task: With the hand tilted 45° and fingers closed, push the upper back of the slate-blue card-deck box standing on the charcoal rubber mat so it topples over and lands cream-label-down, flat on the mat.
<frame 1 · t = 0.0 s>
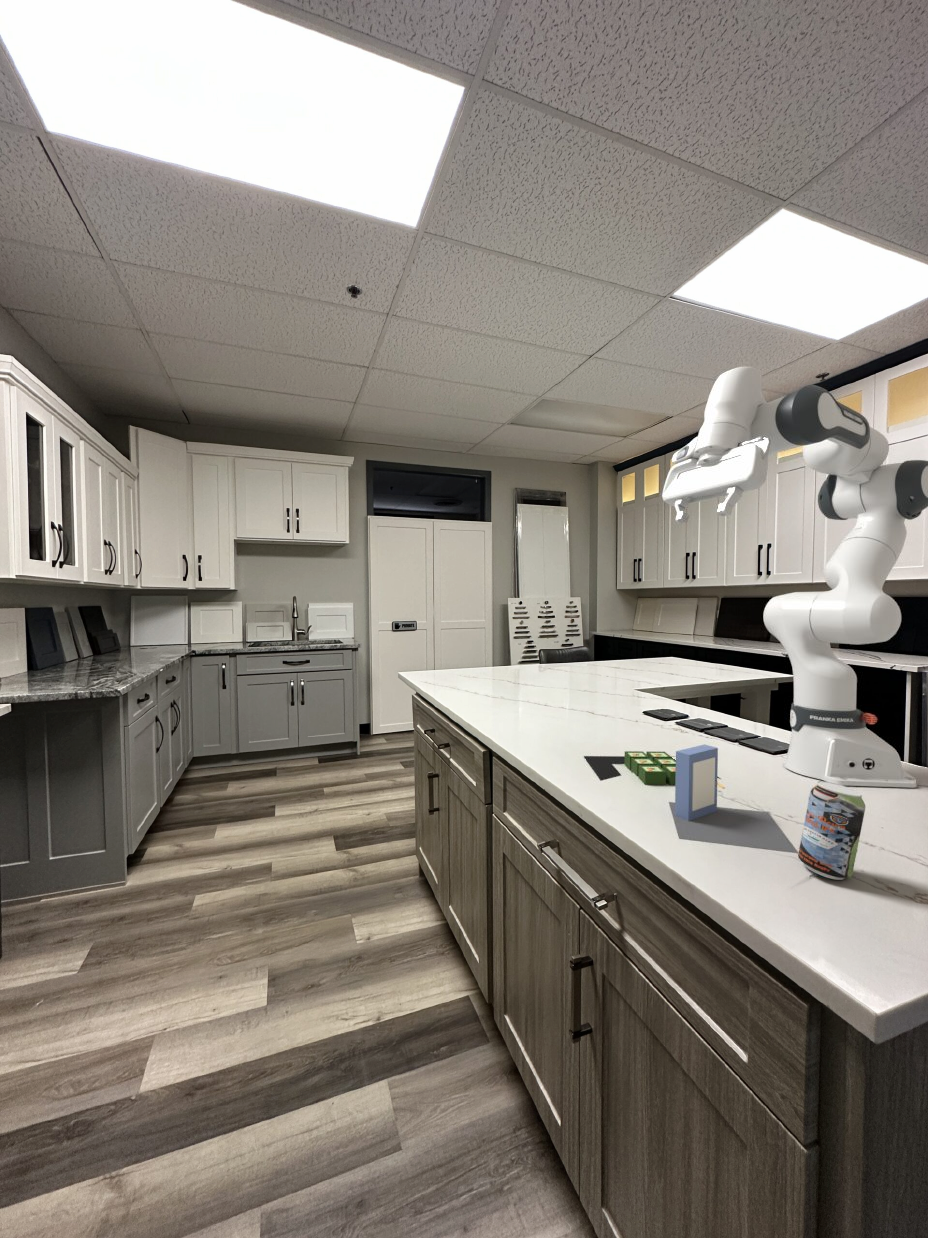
hand: (701, 518, 94), 52 cm above the countertop, tool tilted 20°, fingers open, 8 cm apart
sushi: (655, 779, 108), on the countertop
beverage can: (829, 874, 69), on the countertop
card deck: (696, 813, 87), resting on rubber mat
rubber mat: (726, 827, 83), on the countertop
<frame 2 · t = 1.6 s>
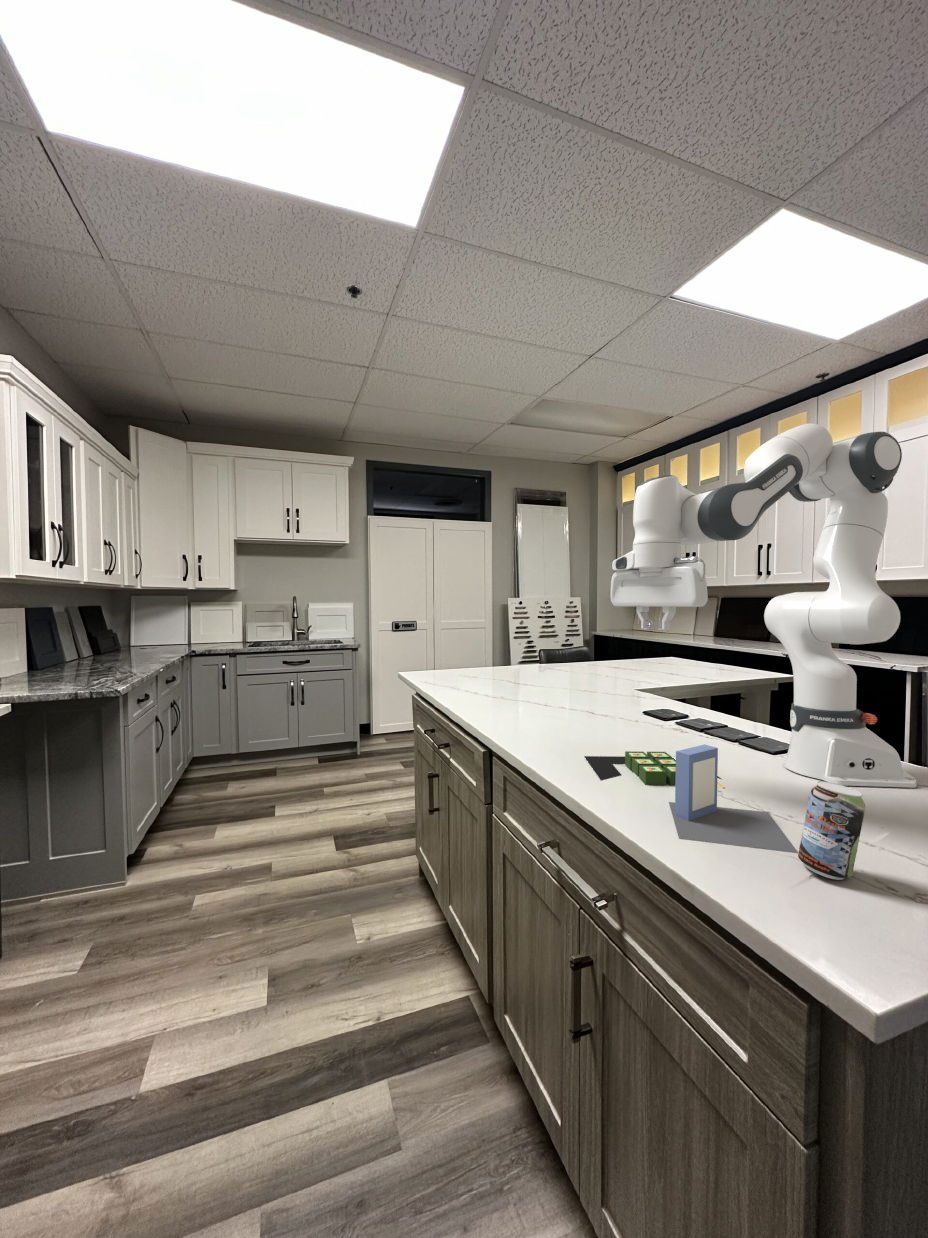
hand: (655, 630, 101), 31 cm above the countertop, tool pointing down, fingers open, 3 cm apart
nothing on the countertop moved.
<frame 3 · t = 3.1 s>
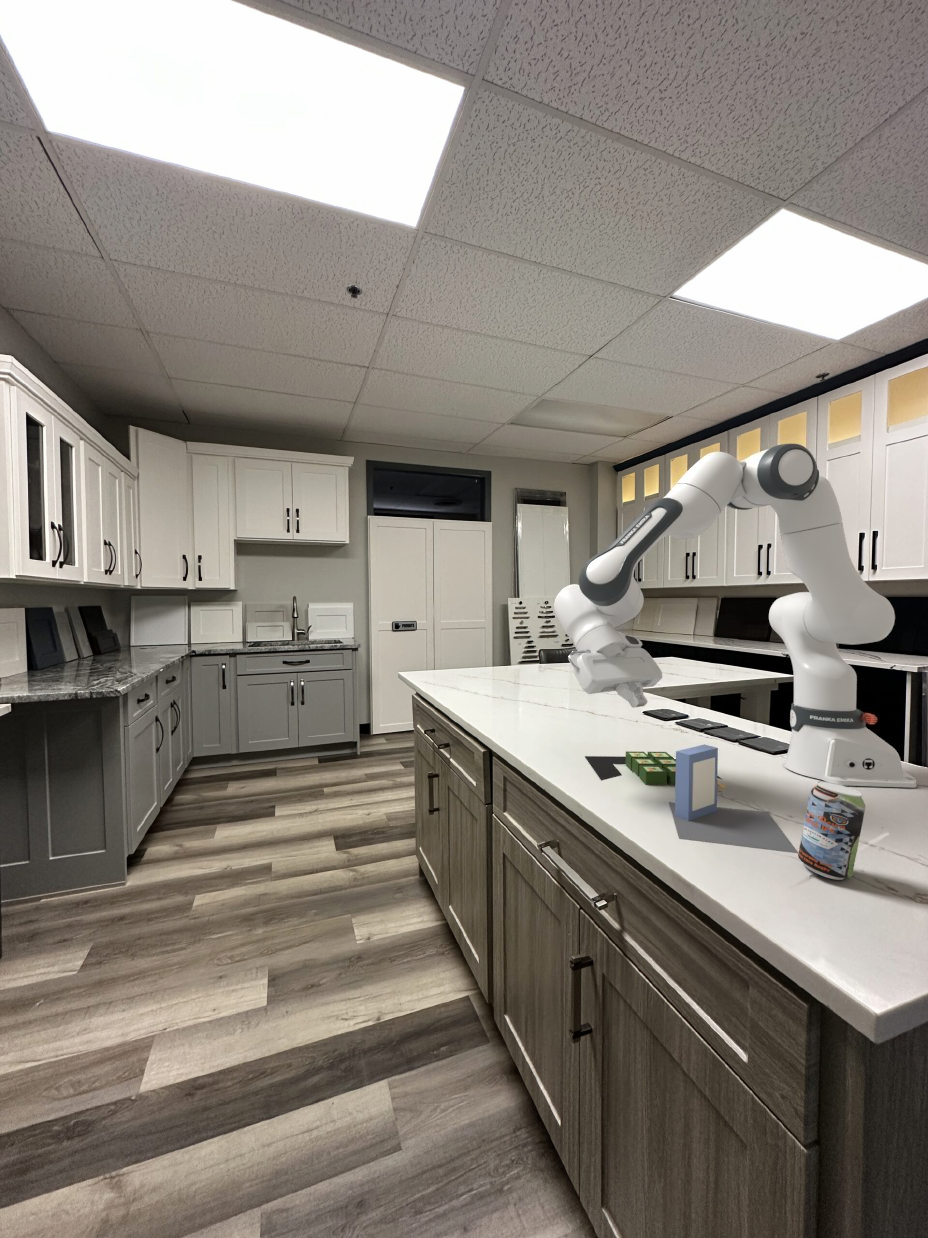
hand: (640, 705, 97), 17 cm above the countertop, tool tilted 45°, fingers closed
nothing on the countertop moved.
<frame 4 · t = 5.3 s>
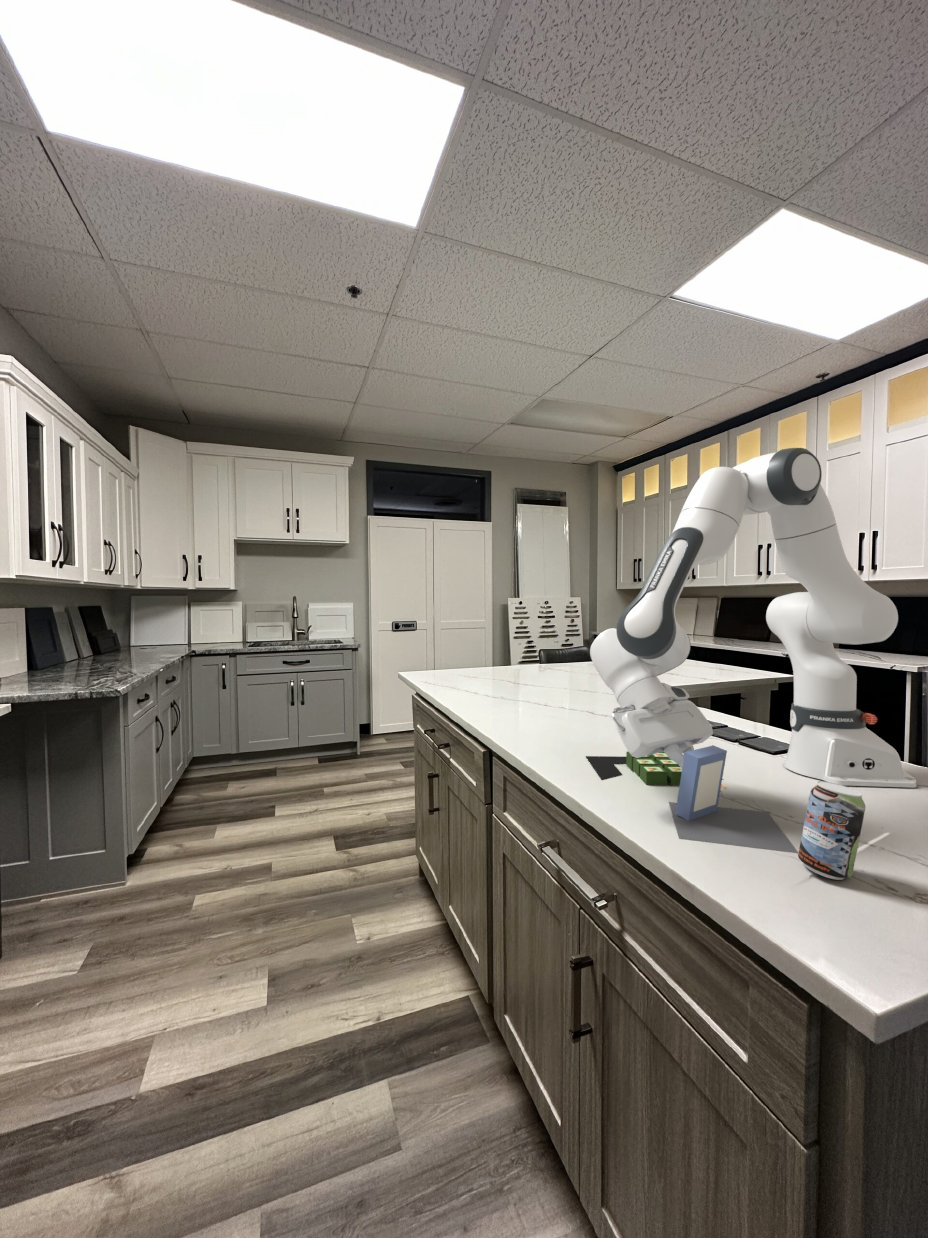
hand: (693, 769, 88), 8 cm above the countertop, tool tilted 45°, fingers closed
card deck: (696, 812, 87), point 1 cm above the countertop, tilted 9°, touching rubber mat
everything else where it was.
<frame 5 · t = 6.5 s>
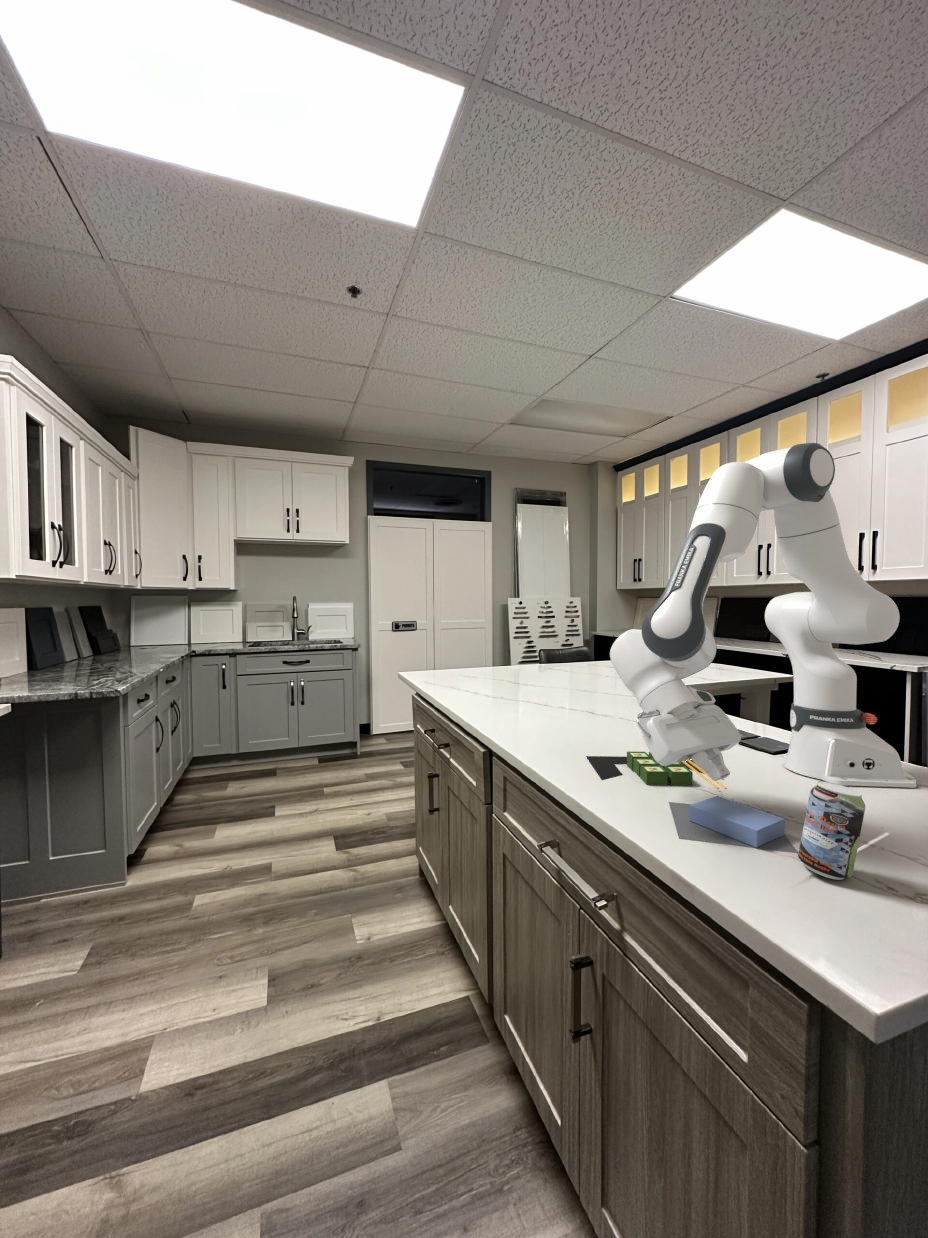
hand: (722, 778, 83), 8 cm above the countertop, tool tilted 45°, fingers closed
card deck: (703, 807, 86), point 2 cm above the countertop, tilted 90°, touching rubber mat
everything else where it was.
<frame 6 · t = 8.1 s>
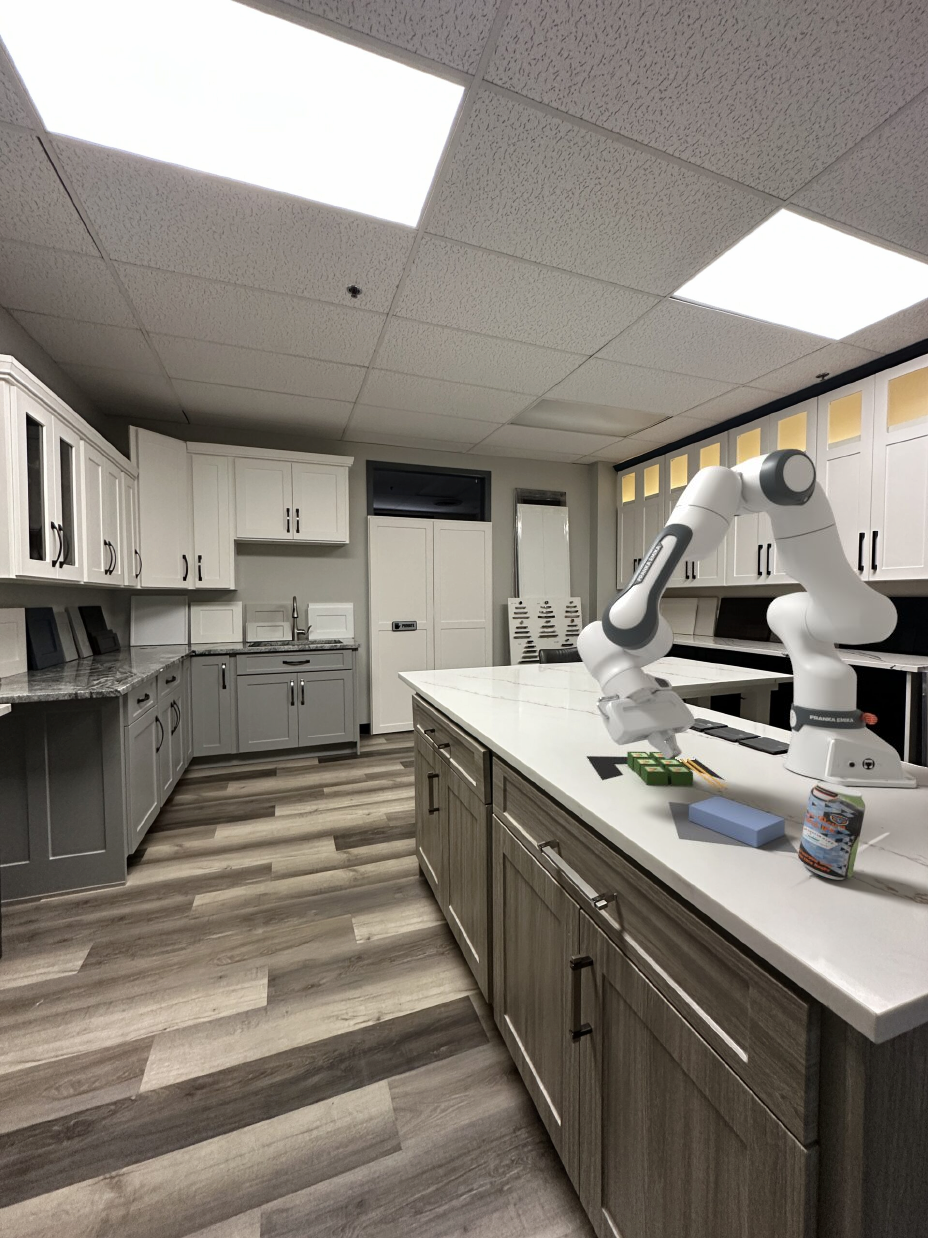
hand: (674, 756, 91), 9 cm above the countertop, tool tilted 45°, fingers closed
nothing on the countertop moved.
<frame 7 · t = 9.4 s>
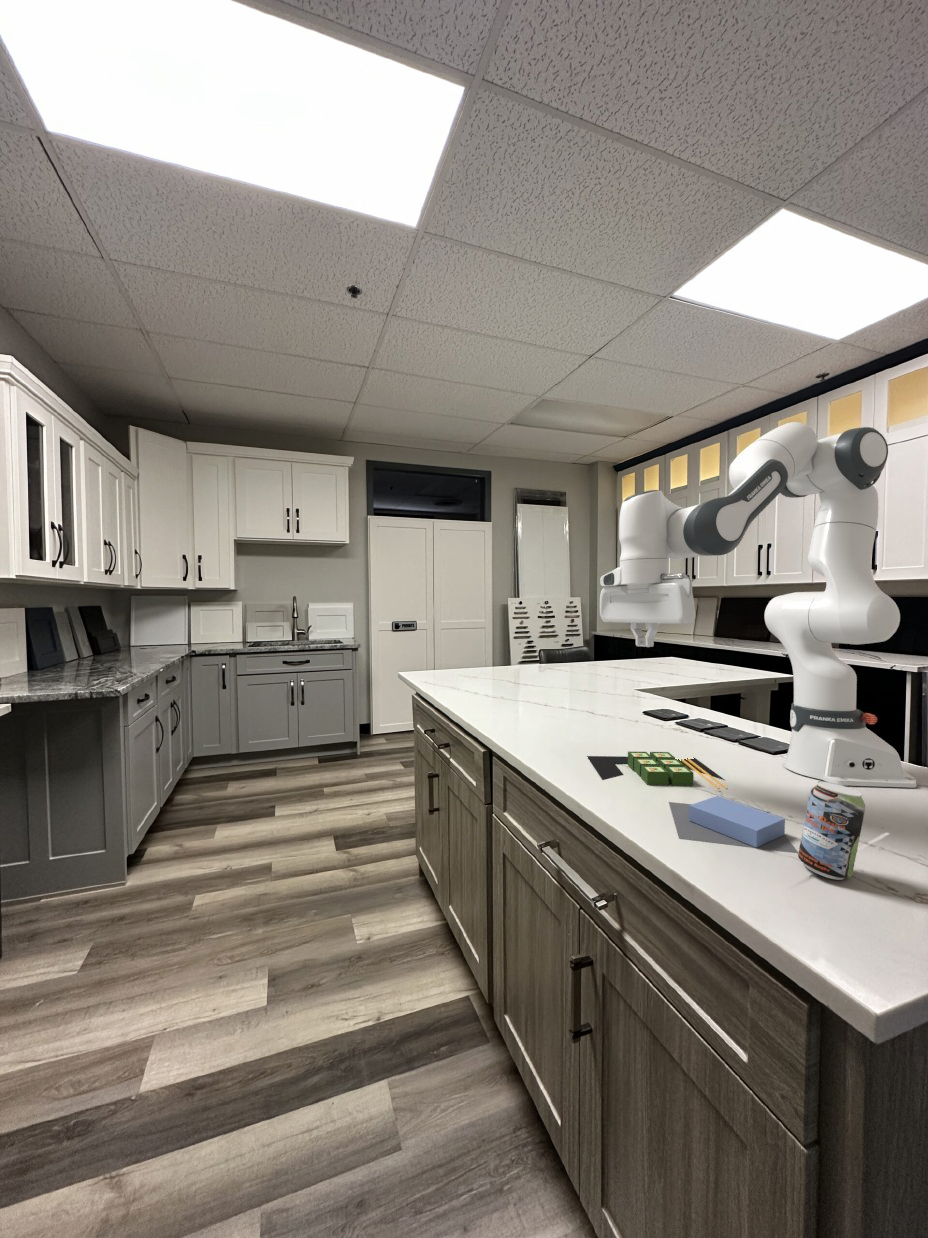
hand: (644, 646, 99), 28 cm above the countertop, tool pointing down, fingers closed
nothing on the countertop moved.
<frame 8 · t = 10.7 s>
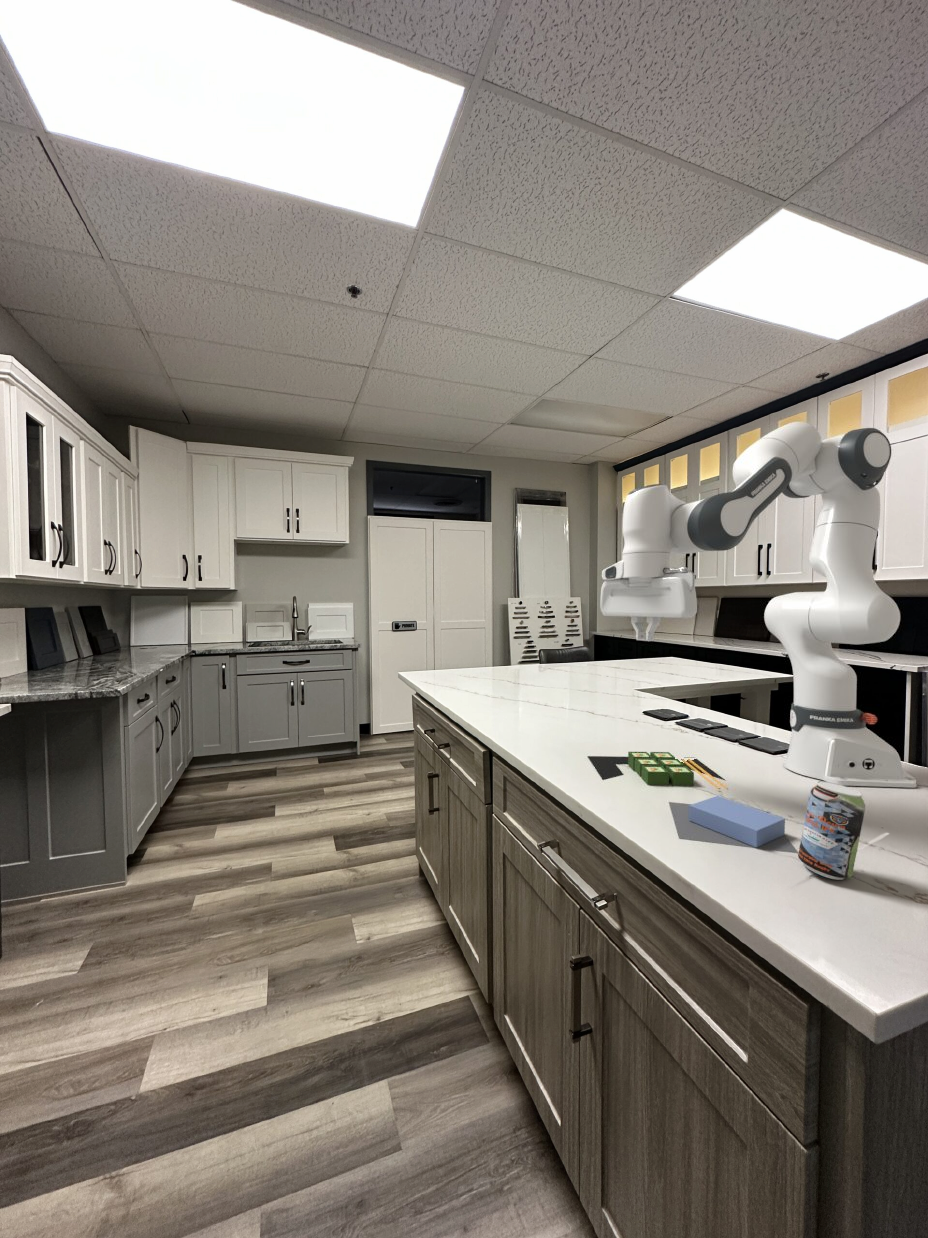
hand: (645, 640, 99), 29 cm above the countertop, tool pointing down, fingers closed
nothing on the countertop moved.
at the end: card deck tilted 90°; card deck inside the target area on the rubber mat (4.0 cm from its centre), point 1.8 cm above the rubber mat's base; the gripper is holding nothing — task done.
